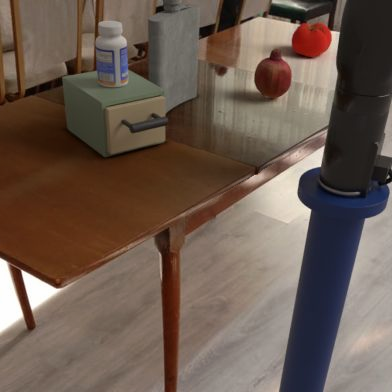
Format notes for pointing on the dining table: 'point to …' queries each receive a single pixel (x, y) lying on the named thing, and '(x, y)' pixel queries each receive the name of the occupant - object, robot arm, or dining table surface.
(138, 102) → the drawer
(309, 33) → the tomato
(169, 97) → the hip flask
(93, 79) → the cabinet
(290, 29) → the dining table surface
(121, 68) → the pill bottle
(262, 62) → the fruit
